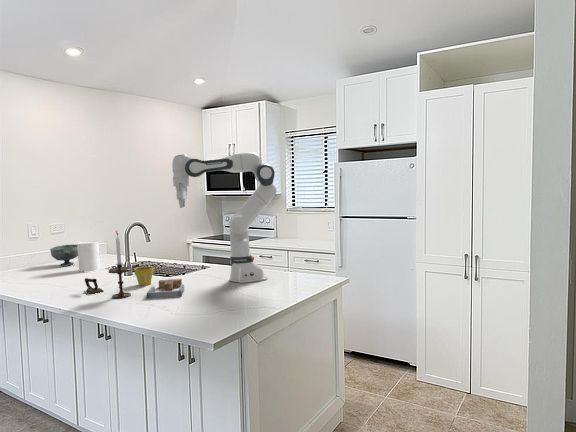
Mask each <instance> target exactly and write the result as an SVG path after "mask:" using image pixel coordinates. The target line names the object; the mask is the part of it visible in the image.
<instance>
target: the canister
mask: <svg viewBox="0 0 576 432" xmlns="http://www.w3.org/2000/svg"><path fill="white" fill-rule="evenodd" d="M76 245H77V248H78V256H77V260H78V272H79V271H93V272H95V271H94V270H98V271H100V270H101V263H100V262H101V260H100V258H101V257H100V248H99V247H100V245H99V241H98V240H90V241H89V240H88V241H80V242H77V243H76ZM99 269H100V270H99Z"/></svg>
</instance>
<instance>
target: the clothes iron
mask: <svg viewBox="0 0 576 432" xmlns="http://www.w3.org/2000/svg"><path fill="white" fill-rule="evenodd" d="M84 283H85V285H86V287H87V288H86V290H85V293H86V292H87V293H89V294H88V295H90V294H93V295H96V294H95V293H97V294H101V293H104V292H105V291H104V290H103V289H102V288H99V286H98V282H97V278H87V277H86V278H84ZM90 283H93V285H94V287H92V286H91V285H90ZM100 292H101V293H100ZM87 293H86V294H87Z"/></svg>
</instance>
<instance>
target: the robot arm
mask: <svg viewBox="0 0 576 432" xmlns="http://www.w3.org/2000/svg"><path fill="white" fill-rule="evenodd" d="M216 171H224V172H229V173H234V174H236V173H238V174H239V173H247V172H252V174H253V176H254V178H255V180H256V181H257V182H258V183H259V185H258V187H257V188H256V190H255V191H253V193H251V195H250V196H249V197H248V199H247V200H246V201H245V202H244V203H243V204H242V205H241V207H239V209H238V210H237V211H236V213H235V214H233V215H231V217H230V218H229V237H230V241H229V242H230V259H229V262H230V275H229V280H228V281H230V282H235V283H241V284H243V283H252V282H261V281H266V280H268V275H267V274H266V273H265V274H264V270H263V268H262V266H260V265H259V264H258V263H256V262H255V257H254V256H253V255H251V254H250V253H251V252H250V235H249V228H250V227H251V226H252V225H253V223H254V222H255V220H257V218H258V217H259V216H260V214H262V212H263V211H264V210H265V209H266V208H267V207H268V205H270V203H271V202H272V201H273V199H274V198H275V196H276V194H277V188H276V186H275V184H273V183H274V179H275V175H276V174H275V173H276V171H275V169H274V167H273V166H272V165H271V164H268V163H262V162H261V158H260V156H259V155H258V154H257V153H256V152H241V153H234V154H231V155H228V156H225V157H221V158H218V159H209V160H202V159H198V158H192V157H190V156H188V155H187V154H178V155H175V156H174V157H173V158H172V174H173V175H172V176H173V177H172V185H173V186H172V187H175V190H176V192H175V193H176V200H178V204H179V208H180V209H182V208H185V205H186V199H187V198H188V187H190V177H191V178H200V177H202V176H203V175H204V174H205V173H210V172H216Z"/></svg>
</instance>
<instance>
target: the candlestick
mask: <svg viewBox="0 0 576 432" xmlns="http://www.w3.org/2000/svg"><path fill="white" fill-rule="evenodd" d="M115 232H116V233H115V234H116V238H115V246H116V247H115V248H116V260H117V263H115V265H116V266H117V267H113V268H109V269H108V273H109V274H117V275H118V281H117V284H118V285H119V286H118V288H119V292H118V293H115V294H112V295H111V298H112V299H113V300H115V299H117V300H119V299H127V298H129V297H131V296H132V295H131V294H132V293H131V292H124V291H123V290H124V289H123V288H124V281H123V276H122V274H124V273H127V272H130V271H132V267H129V266H123V263H122V254H121V252H122V251H121V238H120V237H119V233H118V231H117V230H115Z"/></svg>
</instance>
